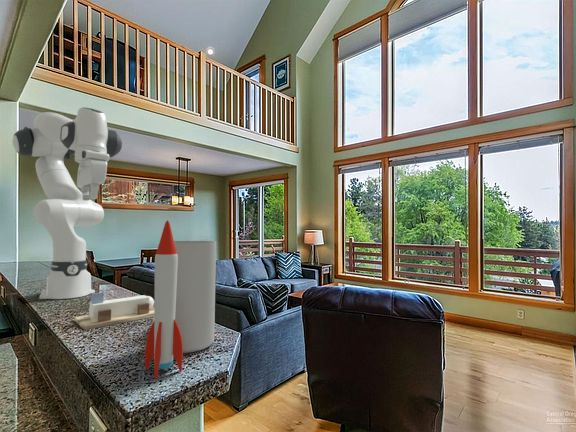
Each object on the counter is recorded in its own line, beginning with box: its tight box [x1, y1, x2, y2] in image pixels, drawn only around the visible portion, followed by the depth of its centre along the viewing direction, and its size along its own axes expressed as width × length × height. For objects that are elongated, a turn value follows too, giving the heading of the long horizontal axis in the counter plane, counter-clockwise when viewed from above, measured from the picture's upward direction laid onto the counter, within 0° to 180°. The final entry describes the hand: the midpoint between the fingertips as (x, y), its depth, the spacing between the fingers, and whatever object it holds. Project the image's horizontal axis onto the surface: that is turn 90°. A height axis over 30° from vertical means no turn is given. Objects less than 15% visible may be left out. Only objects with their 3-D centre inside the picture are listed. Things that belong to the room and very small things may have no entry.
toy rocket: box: [144, 220, 184, 380], centre depth 64 cm, size 6×6×30 cm
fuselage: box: [88, 291, 155, 321], centre depth 100 cm, size 4×18×8 cm, turn 135°
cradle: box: [73, 303, 155, 331], centre depth 99 cm, size 12×22×4 cm, turn 135°
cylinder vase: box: [174, 240, 217, 354], centre depth 78 cm, size 12×12×25 cm
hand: (89, 199), depth 103 cm, fingers open, 8 cm apart
